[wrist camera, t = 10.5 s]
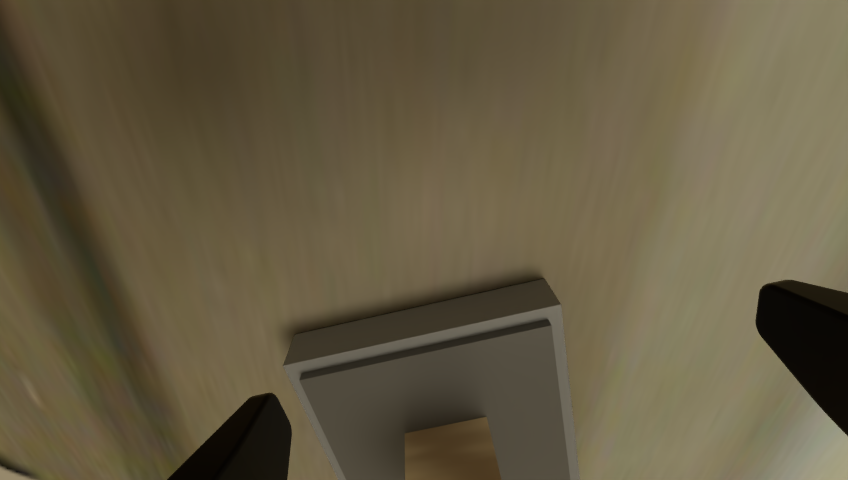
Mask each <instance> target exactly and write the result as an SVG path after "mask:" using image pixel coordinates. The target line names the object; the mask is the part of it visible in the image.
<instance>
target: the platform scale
mask: <svg viewBox="0 0 848 480" xmlns="http://www.w3.org/2000/svg"><path fill="white" fill-rule="evenodd" d="M283 367H284V369H285V371H286V373H287V375H288V377H289V379H290V381H291V383H292V385H293V387H294V389H295V391H296V394H297V396H298V398H299V400H300V402H301V404H302V406H303V408H304V410H305V412H306V414H307V416H308V418H309V420H310V422H311V424H312V427H313V429H314V431H315V433H316V435H317V437H318V439H319V441H320V443H321V445H322V447H323V449H324V451H325V453H326V455H327V457H328V460H329V462H330V464H331V466H332V468H333V470H334V472H335V474H336V476H337V478H338V480H405V433H409V432H414V431H419V430H424V429H429V428H434V427H439V426H444V425H449V424H453V423H458V422H463V421H468V420H473V419H478V418H483V417H487V420H488V425H489V429H490V433H491V437H492V442H493V446H494V450H495V454H496V459H497V463H498V467H499V471H500V476H501V480H580V477H579V467H578V458H577V449H576V439H575V430H574V421H573V411H572V402H571V393H570V384H569V374H568V365H567V356H566V346H565V337H564V328H563V318H562V309H561V304H560V302H559V300H558V299H557V297H556V296H555V294H554V293H553V291H552V290H551V288H550V286H549V285H548V283H547V282H546V280H545V279H541V280H536V281H532V282H527V283H523V284H518V285H514V286H509V287H505V288H500V289H496V290H491V291H487V292H483V293H478V294H474V295H469V296H465V297H460V298H456V299H451V300H447V301H442V302H438V303H434V304H429V305H425V306H420V307H416V308H411V309H407V310H402V311H398V312H393V313H389V314H384V315H380V316H376V317H371V318H367V319H362V320H358V321H353V322H349V323H344V324H340V325H335V326H331V327H326V328H322V329H318V330H313V331H309V332H304V333H300V334H295V336H294V338H293V341H292V343H291V346H290V349H289V351H288V354H287V357H286V359H285V362H284V365H283Z"/></svg>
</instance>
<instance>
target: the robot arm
mask: <svg viewBox="0 0 848 480" xmlns="http://www.w3.org/2000/svg"><path fill="white" fill-rule="evenodd" d="M756 327H757V330H758V332H759V334H760V335H761V337H762V338H763V339H764V340H765V342H766V343H767V344H768V345H769V346H770V348H771V349H772V350H773V351H774V352H775V354H776V355H777V356H778V357H779V358H780V360H781V361H782V362H783V363H784V364H785V366H786V367H787V368H788V369H789V371H790V372H791V373H792V374H793V375H794V377H795V378H796V379H797V380H798V381H799V383H800V384H801V385H802V386H803V387H804V389H805V390H806V391H807V392H808V393H809V395H810V396H811V397H812V398H813V399H814V400H815V402H816V403H817V404H818V405H819V406H820V407H821V408H822V410H823V411H824V412H825V413H826V414H827V415H828V416H829V417H830V418H831V419H832V420H833V421H834V422H835V423H836V424H837V425H838V427H839V428H840V429H841V430H842V431H843V432H844V433H845V434H846V435H847V436H848V293H846V292H842V291H837V290H833V289H829V288H825V287H820V286H816V285H812V284H807V283H803V282H799V281H794V280H783V281H778V282H773V283H769V284H766V285H764V286H763V287H762V288H761V289H760V292H759V299H758V307H757V314H756ZM291 436H292V430H291V425H290V422H289V420H288V418H287V416H286V414H285V412H284V410H283V408H282V406H281V404H280V402H279V400H278V398H277V397H276V395H274V394H273V393H265V394H261V395H256V396H253V397H250V398H249V399H248V400H247V401H246V402H245V403H244V404H243V405H242V406H241V407H240V408H239V409H238V410H237V411H236V412H235V413H234V414H233V415H232V416H231V417H230V418H229V419H228V420H227V421H226V422H225V423H224V424H223V425H222V426H221V427H220V428H219V429H218V430H217V431H216V432H215V433H214V434H213V435H212V436H211V437H210V438H209V439H208V440H207V441H206V442H205V443H204V444H203V445H201V446H200V447H199V448H198V449H197V450H196V451H195V452H194V453H193V454H192V455H191V456H190V457H189V458H188V459H187V460H186V461H185V462H184V463H183V464H182V465H181V466H180V467H179V468H178V469H177V470H176V471H175V472H174V473H173V474H172V475H171V476H170V477H169V478H168V479H167V480H287V476H288V466H289V456H290V446H291Z"/></svg>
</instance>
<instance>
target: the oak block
mask: <svg viewBox="0 0 848 480" xmlns="http://www.w3.org/2000/svg"><path fill="white" fill-rule="evenodd" d="M405 480H501V476H500V471H499V467H498V463H497V459H496V454H495V450H494V446H493V442H492V437H491V433H490V429H489V425H488V420H487V417H483V418H478V419H473V420H468V421H463V422H458V423H453V424H449V425H444V426H439V427H434V428H429V429H424V430H419V431H414V432H409V433H405Z"/></svg>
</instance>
